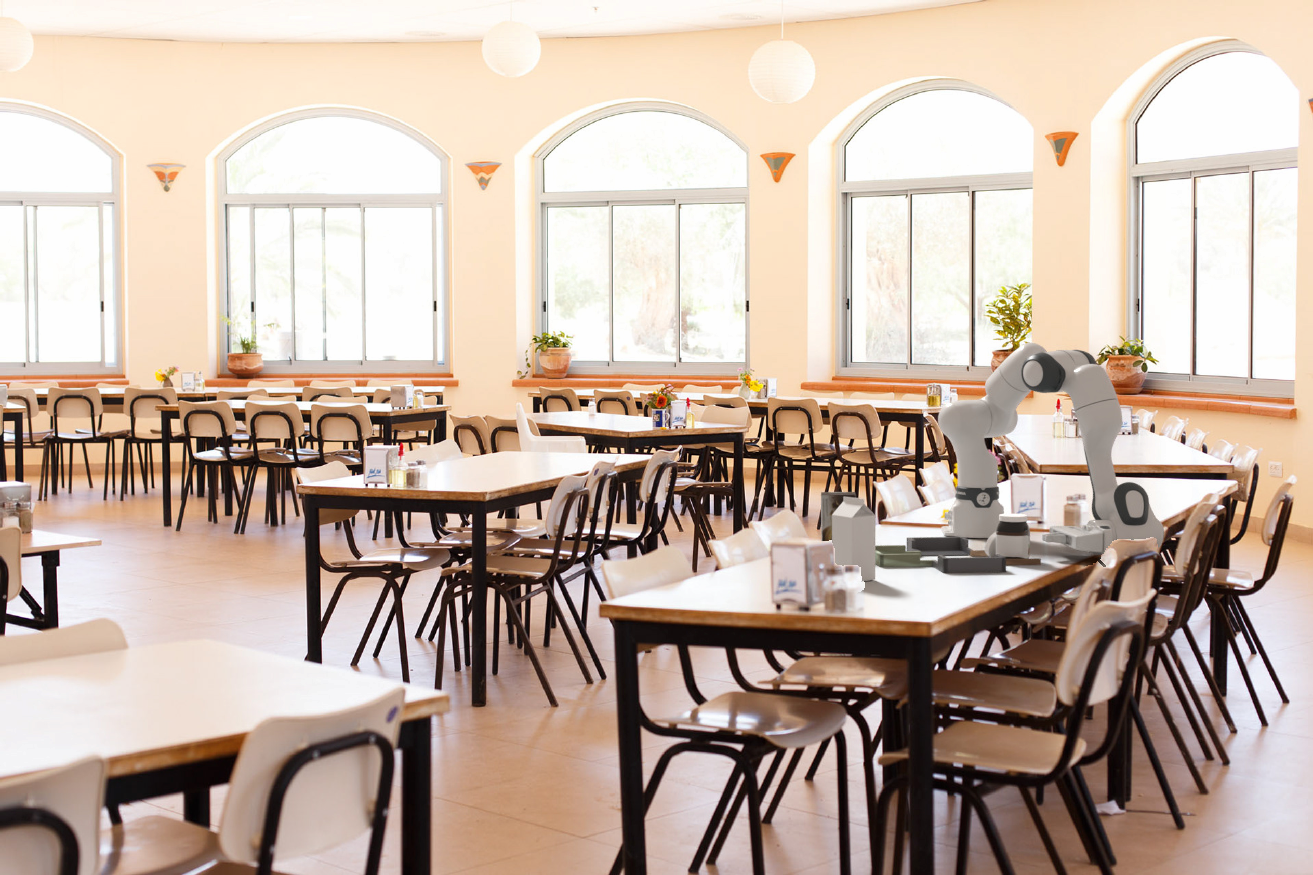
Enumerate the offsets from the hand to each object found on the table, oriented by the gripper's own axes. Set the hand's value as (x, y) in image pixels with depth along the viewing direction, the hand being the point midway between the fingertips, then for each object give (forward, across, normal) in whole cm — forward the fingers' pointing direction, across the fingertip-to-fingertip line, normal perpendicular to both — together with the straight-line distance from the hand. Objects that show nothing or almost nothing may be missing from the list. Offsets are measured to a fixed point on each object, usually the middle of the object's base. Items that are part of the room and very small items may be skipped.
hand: (1044, 538), depth 332 cm
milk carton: (+54, +26, +6) cm, 60 cm away
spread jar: (+10, 0, +6) cm, 11 cm away
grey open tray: (+23, -14, +6) cm, 27 cm away
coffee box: (+50, -14, +6) cm, 52 cm away
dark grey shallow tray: (+23, +14, +5) cm, 28 cm away
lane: (+24, 0, +6) cm, 24 cm away
